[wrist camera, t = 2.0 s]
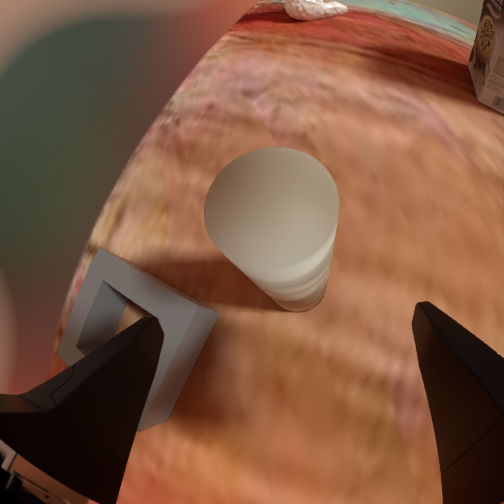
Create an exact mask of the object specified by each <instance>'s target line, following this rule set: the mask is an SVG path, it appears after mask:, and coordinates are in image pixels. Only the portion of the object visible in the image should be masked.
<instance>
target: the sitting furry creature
mask: <svg viewBox="0 0 504 504" xmlns="http://www.w3.org/2000/svg"><path fill="white" fill-rule="evenodd" d="M284 7H285V11H286V12H287V14H288V15H289V16H290V17H292V18H294V19H297V20H303V21H305V20H306V21H311V20H317V19H321V18H327V17H333V16H340V15H344V14H345V13H347V11H348V9H347V7H346V6H345V5H343V4H340V3H337V2H336V1H333V2H329V3H324V2H323V0H286V1H285V6H284Z"/></svg>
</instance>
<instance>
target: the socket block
mask: <svg viewBox="0 0 504 504" xmlns="http://www.w3.org/2000/svg"><path fill="white" fill-rule="evenodd" d="M128 299H130V300H132V301H133V302H134V303H136V304H137V305H139V306H140V307H142V308H143V309H145V310H146V311H148V312H149V313H151V314H152V315H154V316H156V317H157V318H158V319H160V320H159V323H160V325H161V327H162V329H163V331H164V342H163V346H162V350H161V354H160V358H159V362H158V367H157V371H156V374H155V377H154V380H153V383H152V386H151V389H150V392H149V395H148V398H147V401H146V404H145V407H144V410H143V413H142V416H141V419H140V422H139V425H138V429H137V431H138V432H141V431H143V430H146V429H148V428H150V427H153V426H155V425H158V424H160V423H162V422H165V421H167V420H168V418H169V415H170V413H171V411H172V409H173V407H174V405H175V403H176V401H177V399H178V397H179V395H180V393H181V391H182V389H183V387H184V385H185V383H186V381H187V379H188V377H189V375H190V373H191V371H192V368H193V366H194V364H195V362H196V360H197V358H198V356H199V354H200V352H201V350H202V348H203V346H204V344H205V342H206V340H207V338H208V336H209V334H210V332H211V330H212V328H213V326H214V324H215V322H216V320H217V318H218V315H219V313H220V312H218V311H216V310H214V309H213V308H211V307H209V306H207V305H205V304H203V303H201V302H199V301H197V300H196V299H194V298H192V297H190V296H188V295H186V294H185V293H183V292H181V291H179V290H177V289H176V288H174V287H172V286H170V285H169V284H167V283H165V282H163V281H162V280H160V279H158V278H156V277H155V276H153V275H151V274H149V273H148V272H146V271H144V270H143V269H141V268H139V267H138V266H136V265H134V264H133V263H131V262H129V261H128V260H126V259H124V258H121V257H119V256H117V255H115V254H113V253H111V252H109V251H107V250H105V249H103V248H101V247H99V249H98V251H97V253H96V255H95V257H94V259H93V261H92V263H91V265H90V268H89V270H88V272H87V274H86V276H85V279H84V281H83V283H82V286H81V288H80V290H79V293H78V295H77V298H76V300H75V302H74V305H73V308H72V310H71V313H70V315H69V318H68V321H67V323H66V326H65V329H64V332H63V335H62V338H61V341H60V344H59V347H58V350H57V354H58V355H59V356H60V358H61V359H62V360H63V361H64V362H65V363H66V364H67V366H68V367H70V366H71V365H73V364H74V363H76V362H77V361H79V360H80V359H82V358H83V357H85V356H86V355H88V354H89V353H91V352H92V351H94V350H95V349H97V348H98V347H100V346H101V345H103V344H104V343H106V342H107V341H108V340H110V339H111V338H112V336H113V333H114V331H115V329H116V326H117V324H118V322H119V320H120V317H121V315H122V313H123V310H124V308H125V306H126V304H127V302H128Z"/></svg>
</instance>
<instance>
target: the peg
mask: <svg viewBox="0 0 504 504" xmlns="http://www.w3.org/2000/svg"><path fill="white" fill-rule="evenodd" d="M338 212H339V196H338V191H337V187H336V184H335V182H334V180H333V178H332V176H331V175H330V173H329V172H328V170H327V169H326V168H325V167H324V166H323V165H322V164H321V163H320V162H319V161H318V160H316V159H315V158H313V157H312V156H310V155H308V154H306V153H304V152H301V151H298V150H295V149H291V148H285V147H268V148H262V149H257V150H254V151H251V152H248V153H246V154H244V155H242V156H240V157H238V158H236V159H235V160H233V161H232V162H231V163H229V164H228V165H227V166H226V167H225V168H224V169H223V170H222V171H221V172H220V173H219V174H218V175H217V177H216V178H215V180H214V181H213V183H212V184H211V186H210V188H209V191H208V193H207V196H206V200H205V205H204V220H205V225H206V229H207V232H208V234H209V236H210V238H211V240H212V242H213V243H214V245H215V246H216V247H217V248H218V249H219V250H220V251H221V252H222V253H223V254H224V255H225V256H226V257H227V258H228V259H229V260H230V261H231V262H232V263H233V264H234V265H236V266H237V267H238V268H239V269H240V270H241V271H242V272H243V273H244V274H245V275H246V276H247V277H249V278H250V279H251V280H252V281H253V282H254V283H255V284H256V285H257V286H258V287H259V288H261V289H262V290H263V291H264V292H265V293H266V294H267V295H268V296H269V297H270V298H272V299H273V300H274V301H275V302H276V303H277V304H278V305H279V306H280V307H282V308H283V309H285V310H287V311H290V312H297V313H298V312H305V311H308V310H311V309H312V308H314V307H315V306H317V305H318V304H319V303H320V302H321V300H322V299H323V297H324V295H325V292H326V287H327V282H328V276H329V271H330V265H331V259H332V253H333V247H334V240H335V234H336V227H337V219H338Z"/></svg>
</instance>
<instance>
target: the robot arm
mask: <svg viewBox="0 0 504 504" xmlns="http://www.w3.org/2000/svg"><path fill="white" fill-rule="evenodd" d="M412 330H413V335H414V340H415V345H416V351H417V357H418V363H419V367H420V372H421V375H422V379H423V383H424V387H425V391H426V395H427V399H428V403H429V408H430V412H431V417H432V422H433V427H434V432H435V438H436V443H437V450H438V456H439V464H440V472H441V473H442V474H441V482H442V494H443V504H504V358H503V357H502V356H501V355H499V354H498V355H497V352H496V351H494V350H493V349H492V348H490V347H489V346H488V345H487V344H485V343H484V342H483V341H482V340H480V339H479V338H478V337H476V336H475V335H474V334H472V333H471V332H470V331H468V330H467V329H466V328H464V327H463V326H462V325H460V324H459V323H458V322H456V321H455V320H454V319H452V318H451V317H450V316H448V315H447V314H445V313H444V312H443V311H441V310H440V309H438V308H437V307H436V306H434V305H433V304H431V303H430V302H428V301H424V302H418V303H417V304H416V306H415V311H414V315H413V319H412ZM163 342H164V331H163V329H162V327H161V325H160V323H159V320H158V318H157V317H156V316H144V317H143V318H141V319H140V320H138V321H137V322H135V323H134V324H132V325H131V326H129V327H128V328H126V329H125V330H123V331H122V332H120V333H119V334H117V335H116V336H114V337H113V338H111V339H110V340H108V341H107V342H106V343H104V344H103V345H101V346H100V347H98V348H97V349H95V350H94V351H92V352H91V353H89V354H88V355H86V356H85V357H83V358H82V359H80V360H79V361H77V362H76V363H74V364H73V365H71V366H70V367H68V368H67V369H65V370H64V371H62V372H61V373H59V374H58V375H56V376H54V377H53V378H51V379H49V380H47V381H46V382H44V383H42V384H41V385H39V386H37V387H35V388H33V389H32V390H30V391H28V392H26V393H23V394H19V395H9V394H0V504H88V501H89V499H91V500H93V501H95V502H97V503H99V504H116V502H117V498H118V494H119V491H120V487H121V483H122V480H123V476H124V472H125V469H126V465H127V462H128V458H129V455H130V451H131V448H132V445H133V441H134V438H135V435H136V432H137V429H138V425H139V422H140V419H141V416H142V413H143V410H144V407H145V404H146V401H147V398H148V395H149V392H150V389H151V386H152V383H153V380H154V377H155V374H156V371H157V367H158V362H159V358H160V354H161V350H162V346H163Z"/></svg>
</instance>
